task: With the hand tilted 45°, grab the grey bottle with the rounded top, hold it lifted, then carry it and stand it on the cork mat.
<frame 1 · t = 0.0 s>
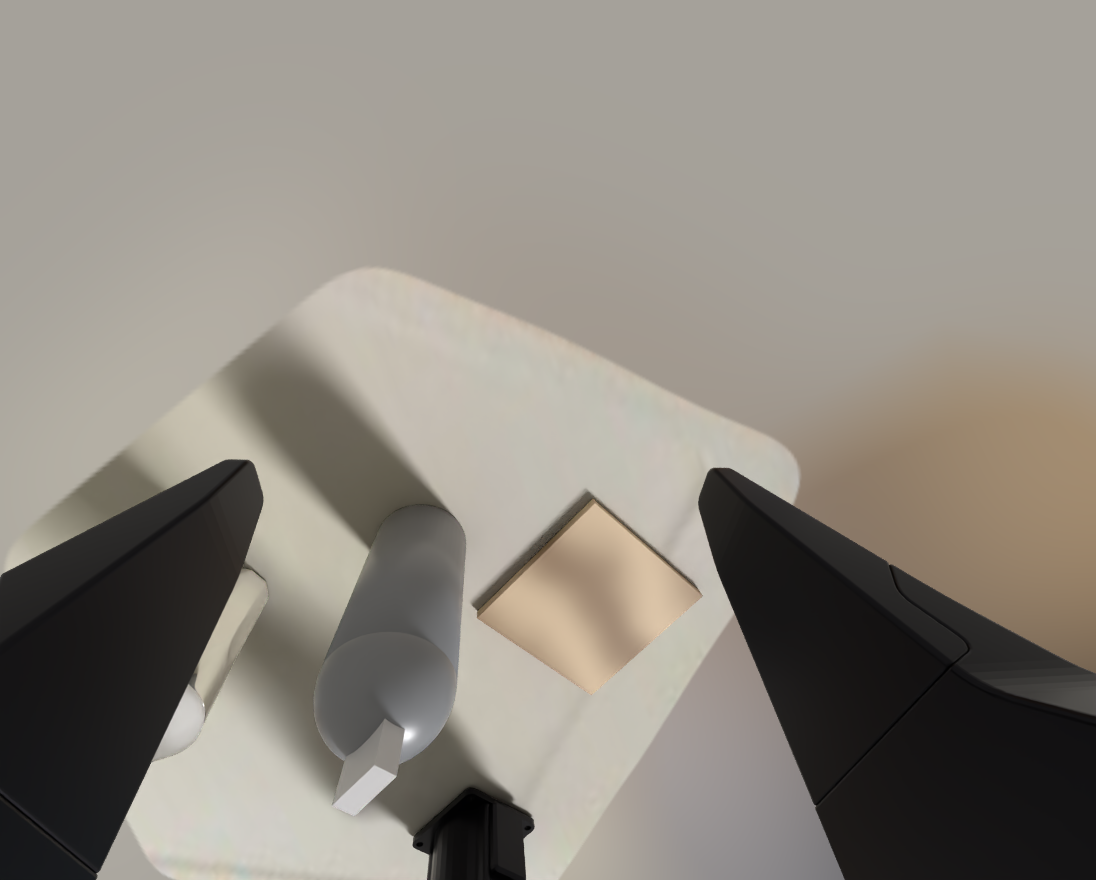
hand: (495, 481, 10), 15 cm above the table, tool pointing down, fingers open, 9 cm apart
grey bottle: (421, 544, 27), on the table
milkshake: (232, 590, 27), on the table
cork mat: (591, 600, 30), on the table
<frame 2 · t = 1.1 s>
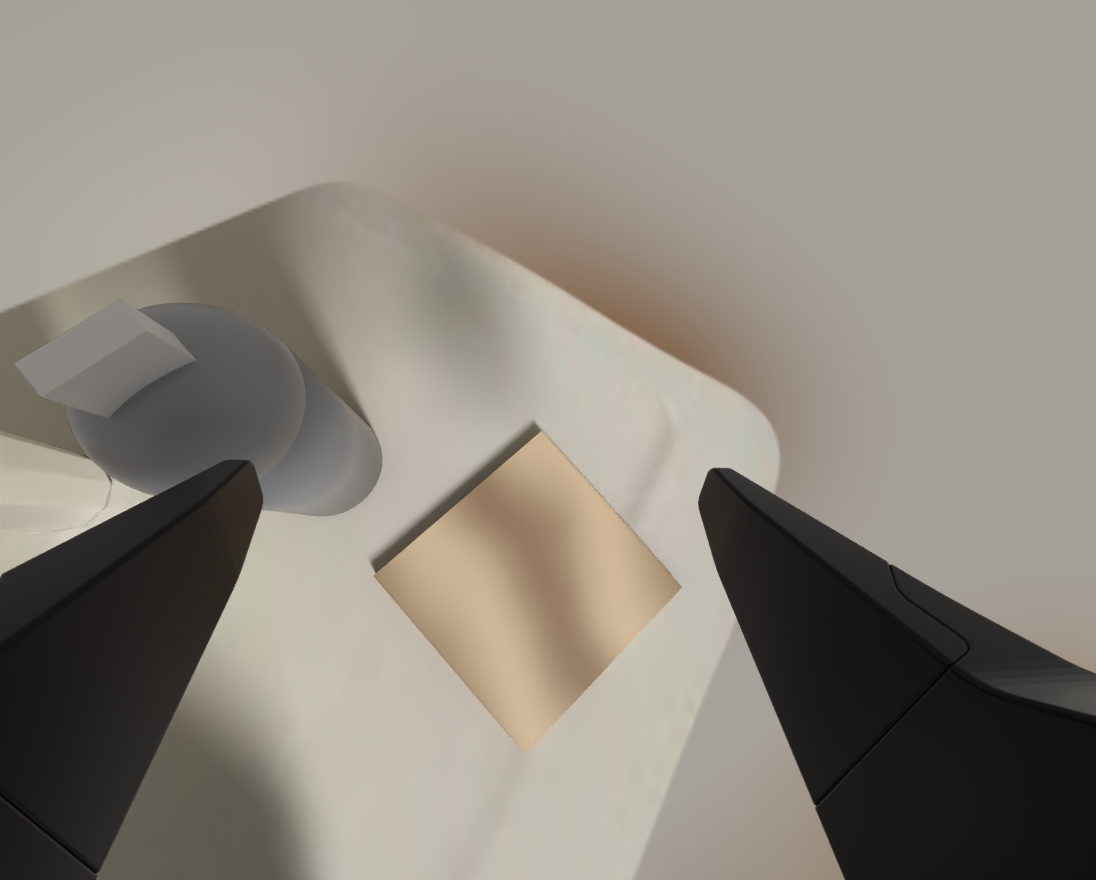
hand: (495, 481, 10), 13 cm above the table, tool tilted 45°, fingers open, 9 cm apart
grey bottle: (326, 461, 22), on the table
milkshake: (62, 494, 20), on the table
cork mat: (532, 580, 22), on the table
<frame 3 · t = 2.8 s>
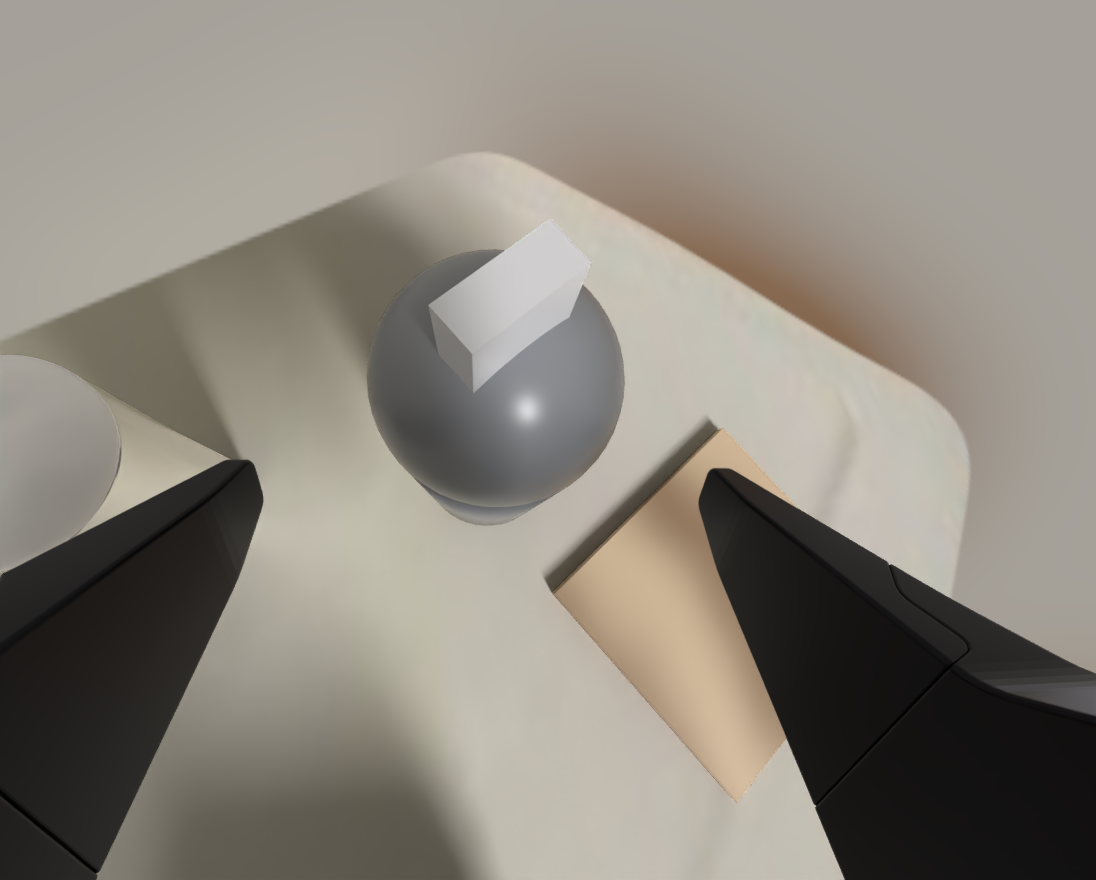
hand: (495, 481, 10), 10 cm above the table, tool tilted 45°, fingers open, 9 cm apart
grey bottle: (488, 463, 19), on the table
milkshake: (196, 500, 18), on the table
cork mat: (721, 598, 19), on the table
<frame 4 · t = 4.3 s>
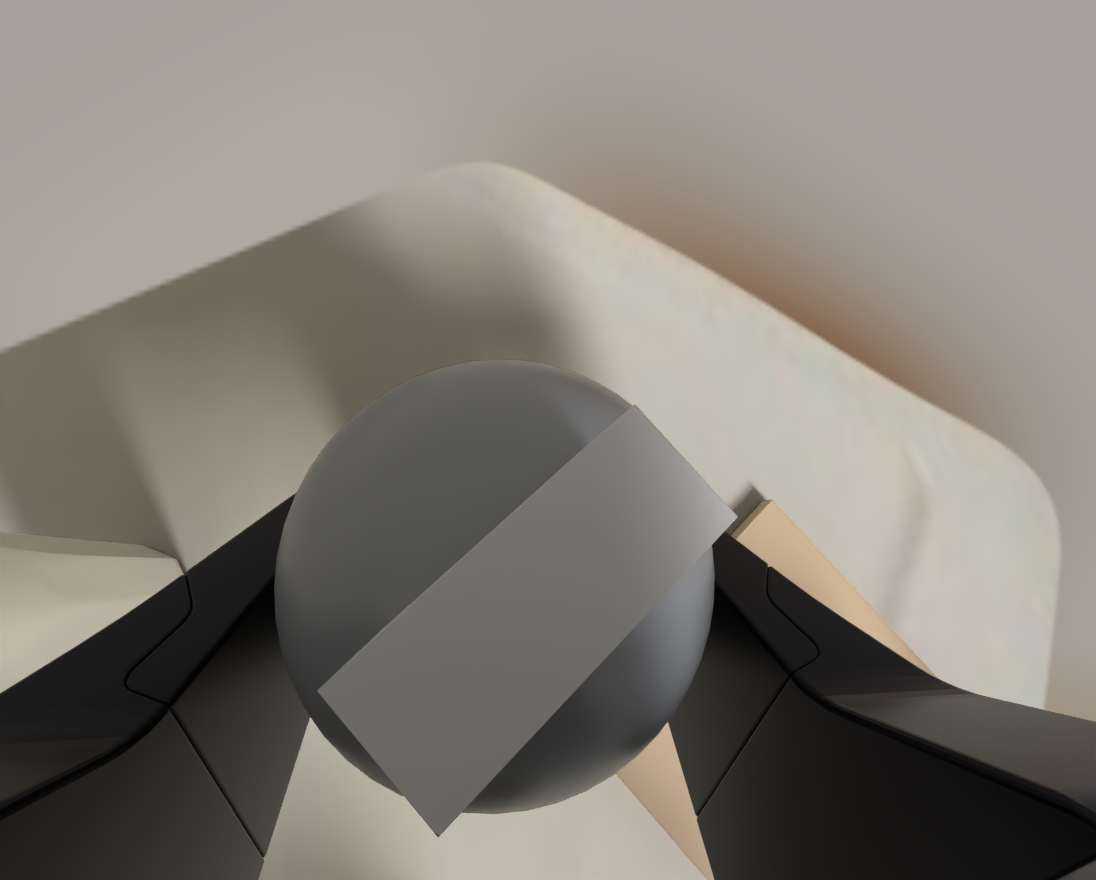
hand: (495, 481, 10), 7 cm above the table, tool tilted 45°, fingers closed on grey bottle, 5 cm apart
grey bottle: (487, 547, 16), on the table, touching gripper
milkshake: (120, 605, 14), on the table
cork mat: (773, 712, 16), on the table
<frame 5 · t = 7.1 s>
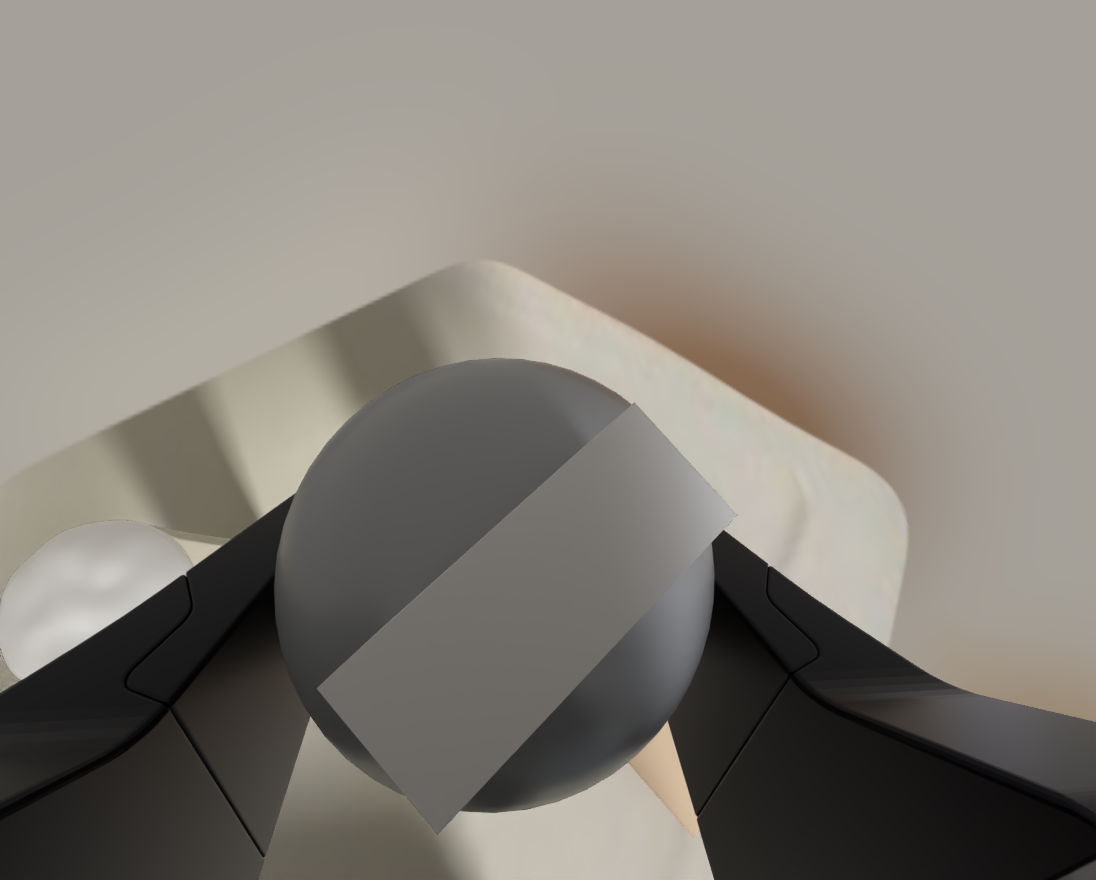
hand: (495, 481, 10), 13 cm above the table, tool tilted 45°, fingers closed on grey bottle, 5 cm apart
grey bottle: (487, 547, 16), point 7 cm above the table, touching gripper
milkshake: (235, 582, 21), on the table
cork mat: (685, 659, 23), on the table
when the fingers open (8 cm above the table, at t = 9.8 s): grey bottle drops 1 cm, resting on cork mat.
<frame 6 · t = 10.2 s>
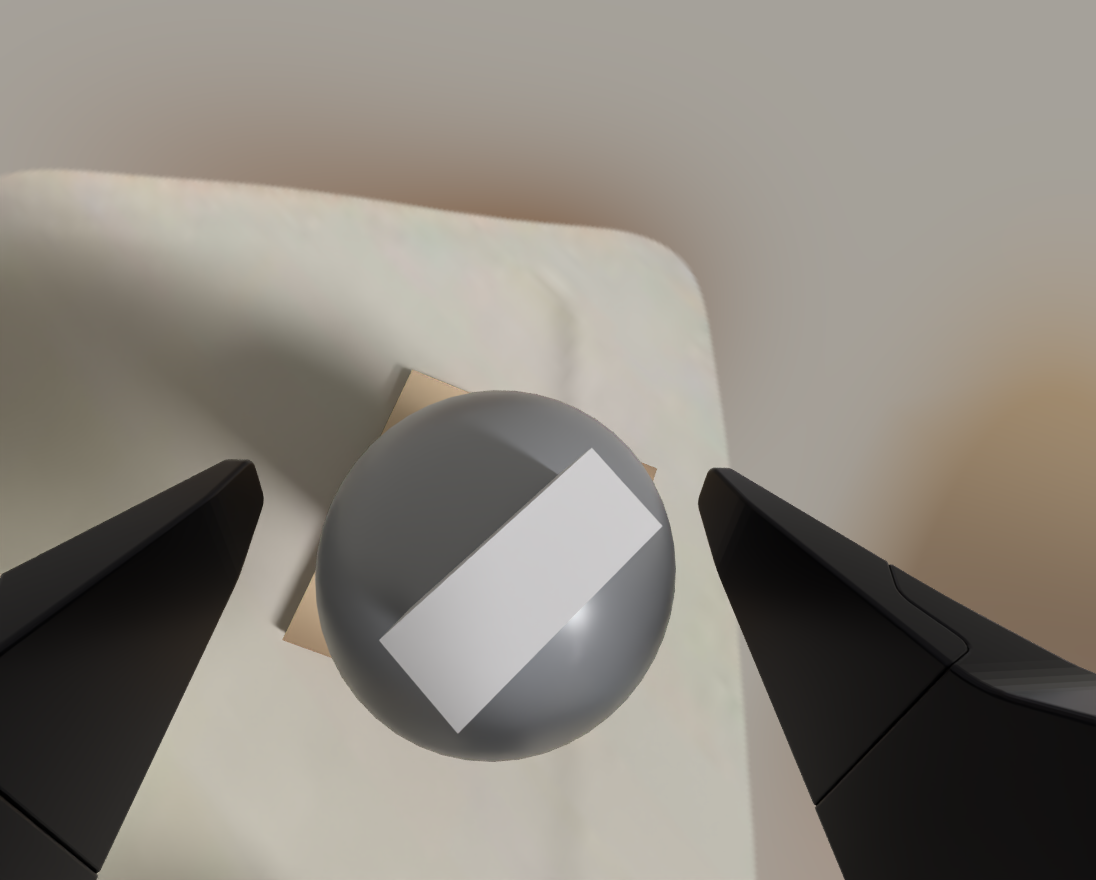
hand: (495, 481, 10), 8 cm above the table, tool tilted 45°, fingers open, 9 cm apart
grey bottle: (486, 547, 17), point 1 cm above the table, touching cork mat
cork mat: (486, 546, 17), on the table
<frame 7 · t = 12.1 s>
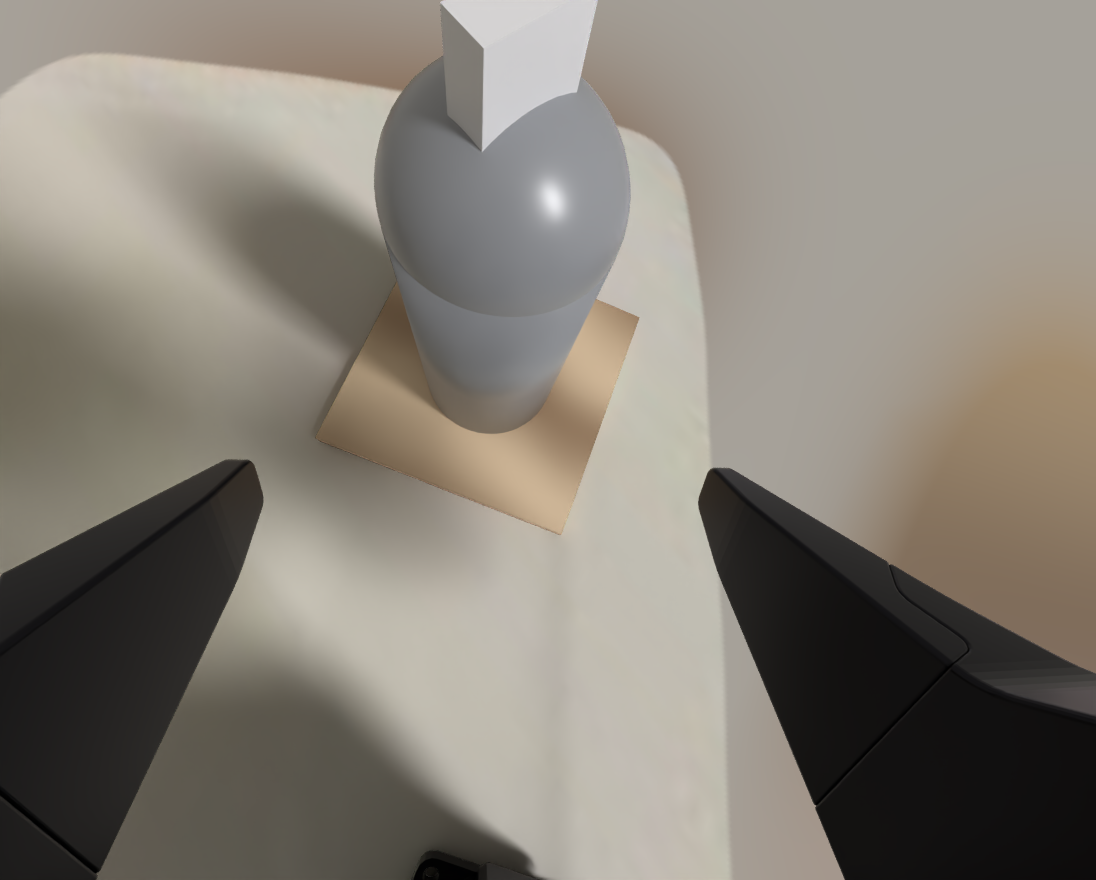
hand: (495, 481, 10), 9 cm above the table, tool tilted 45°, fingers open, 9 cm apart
grey bottle: (490, 374, 19), point 1 cm above the table, touching cork mat
cork mat: (489, 377, 20), on the table
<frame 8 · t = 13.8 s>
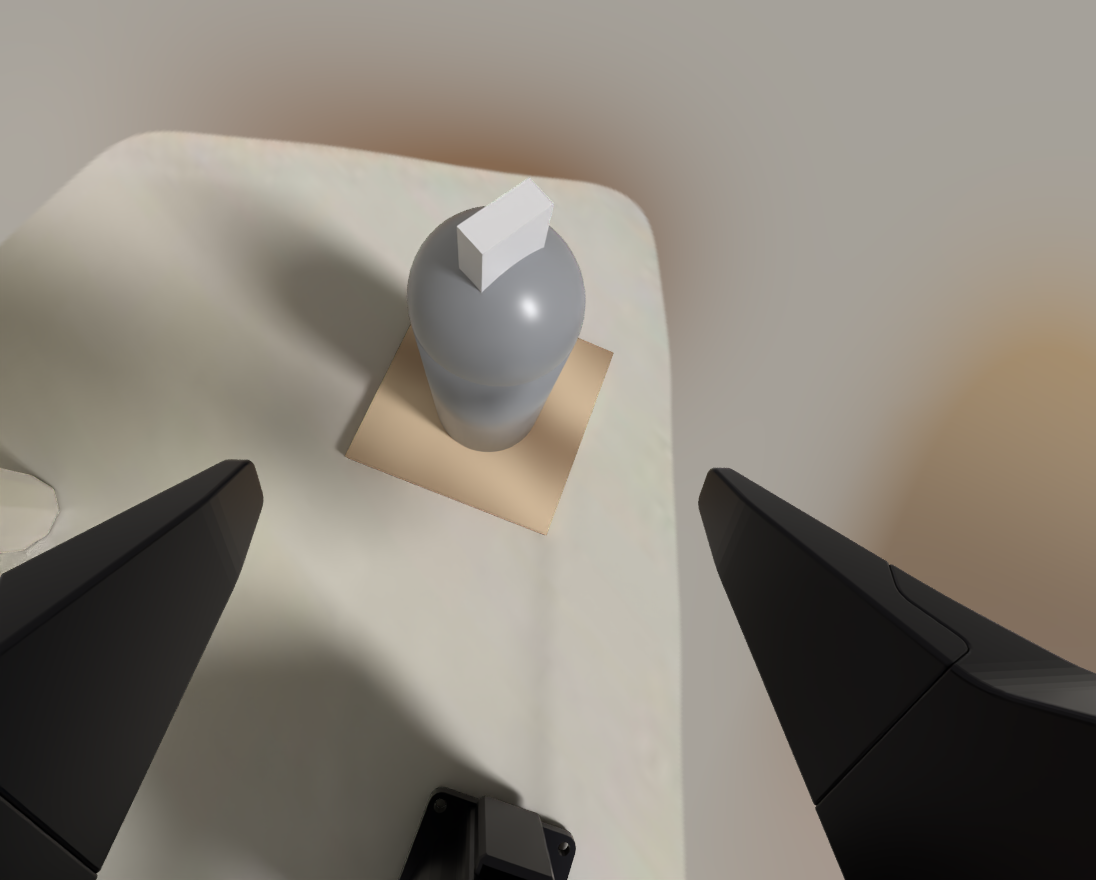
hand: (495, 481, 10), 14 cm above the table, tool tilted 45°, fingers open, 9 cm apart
grey bottle: (488, 401, 23), point 1 cm above the table, touching cork mat
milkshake: (10, 519, 20), on the table
cork mat: (487, 404, 24), on the table
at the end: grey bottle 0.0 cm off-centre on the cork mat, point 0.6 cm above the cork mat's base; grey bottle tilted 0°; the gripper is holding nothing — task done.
